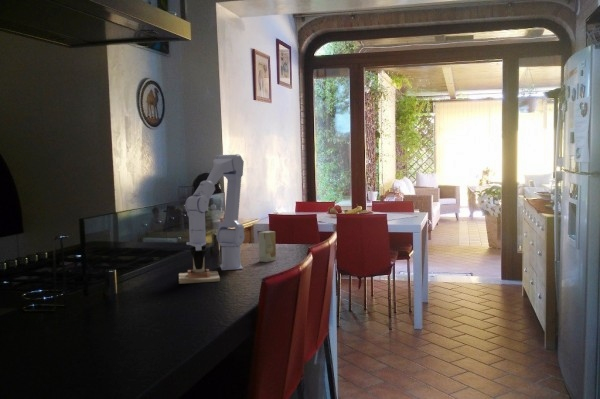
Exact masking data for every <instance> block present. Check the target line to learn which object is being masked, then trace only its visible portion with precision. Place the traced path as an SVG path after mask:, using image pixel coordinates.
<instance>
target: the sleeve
mask: <svg viewBox="0 0 600 399" xmlns="http://www.w3.org/2000/svg"><path fill="white" fill-rule="evenodd" d="M192 270H193V273H205V259H204V260H203V267H202V269H197V270H196V268H195V263H194V258H193V257H192Z"/></svg>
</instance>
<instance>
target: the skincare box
mask: <svg viewBox="0 0 600 399" xmlns="http://www.w3.org/2000/svg"><path fill="white" fill-rule="evenodd" d="M276 242H277V241H276V231H274V230H273V231H272V230H267V231H265V230H264V231H259V232H258V261H259V262H263V263H269V262H273V261H276V260H277V255H276V254H277V253H276V252H277V250H276Z"/></svg>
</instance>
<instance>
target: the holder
mask: <svg viewBox="0 0 600 399" xmlns="http://www.w3.org/2000/svg"><path fill="white" fill-rule="evenodd" d="M220 281H221V277H220V275H219V272H218V270H210V269H209V268H206V269H205V273H193V269H187V272H179V273H178V284H195V283H196V284H197V283H198V284H199V283H211V282H214V283H215V282H220Z"/></svg>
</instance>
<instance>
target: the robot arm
mask: <svg viewBox="0 0 600 399" xmlns="http://www.w3.org/2000/svg"><path fill="white" fill-rule="evenodd" d="M212 163H213V164H212V165H213V167H212V169H211V171H210V173H209V175H208V176H207V179H206V180H202V181H200V183H199V185H198V187H197V188H196V190H195V191H194V193H193V194H192V195H190V196H189V197H188V198H186V200H185V203H184V209H185V210H186V214H187V217H188V228H189V229H188V230H189V231H188V232H189V234H188V235H189V241H186V243H185V244H186V245H187V246H190V247H189V251H190V253H191V255H192V259H193V258H194V263H195V268H196V270H197V269H202V267H203V260H204V261H205V256H206V253H207V249H206V245H207V235H206V234H207V232H206V231H207V230H206V212H207V211H208V208H209V203H210V199H211V197H212V195H213V194H214V192H216V186H215V185H217V183H218V182H219V180H220V179H221V178H222V177H225V178H226V179H227V183H226V184H227V185H226V196H225V208H224V220H223V221H221V222H220V223H219V224H218V229H217V232H216V242H218V244H219V247H221V264H219V266H220V269H221V271H231V270H232V271H233V270H243V265H242V264H241V263H242V262H241V246H242V244H243V243H244V241H245V236H246V234H245V226H244V225H243V224H242V223H241V222H240V221H239V214H240V211H239V210H240V203H241V202H240V201H241V199H240V198H241V187H242V176H244V164H245V163H244V158H243V157H242V156H241V155H240V154H239V153H236V154H217V155H216V156H215V158H214V159H213V161H212Z"/></svg>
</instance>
